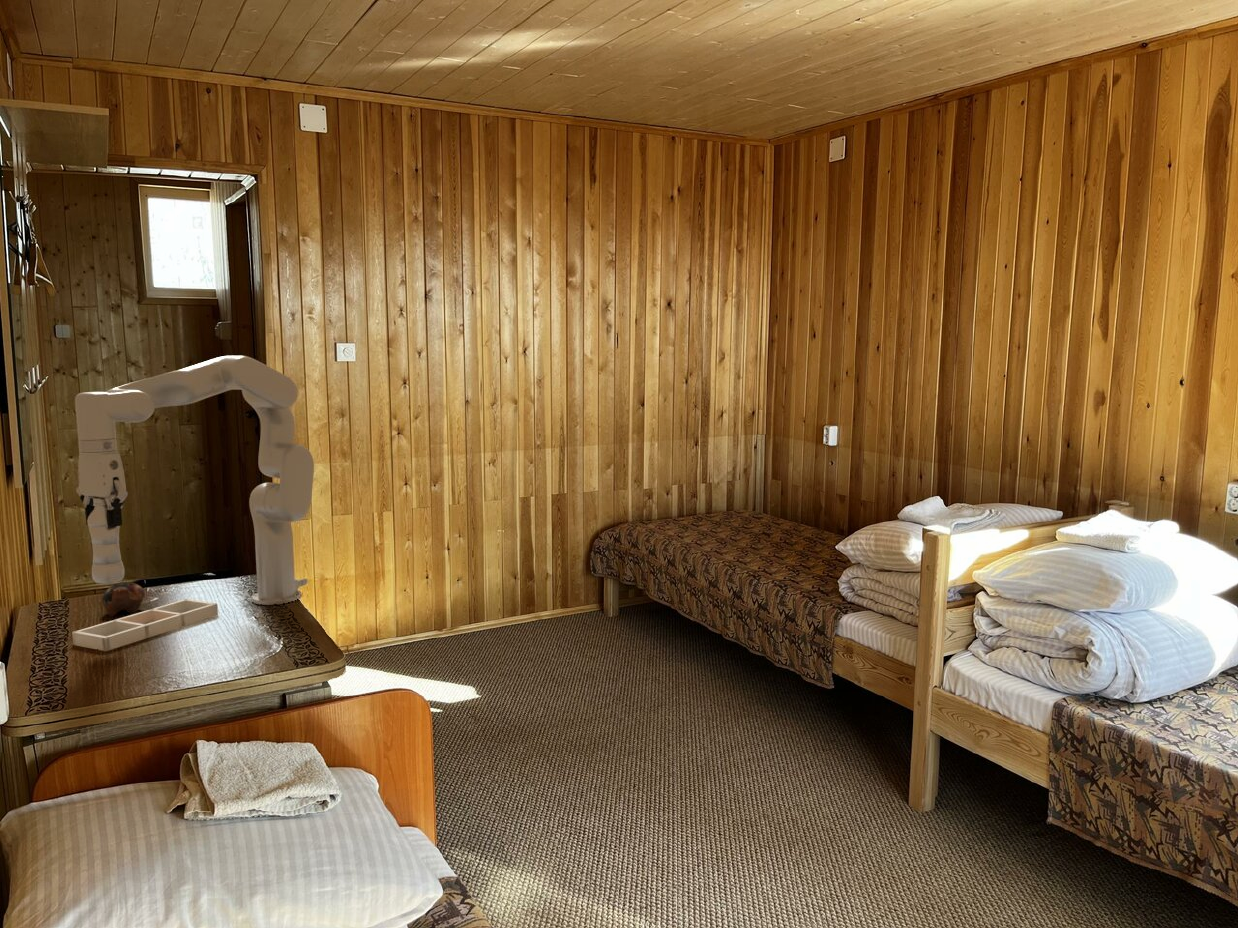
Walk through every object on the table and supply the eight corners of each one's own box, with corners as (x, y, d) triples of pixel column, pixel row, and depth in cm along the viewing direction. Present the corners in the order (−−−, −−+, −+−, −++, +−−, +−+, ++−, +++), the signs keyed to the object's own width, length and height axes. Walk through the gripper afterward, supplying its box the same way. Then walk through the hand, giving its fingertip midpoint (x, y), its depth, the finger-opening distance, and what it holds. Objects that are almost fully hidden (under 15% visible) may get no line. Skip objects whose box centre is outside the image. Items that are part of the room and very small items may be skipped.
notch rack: (186, 610, 239) (186, 598, 238) (217, 615, 234) (217, 603, 234) (73, 644, 211) (72, 632, 210) (106, 651, 206) (105, 638, 206)
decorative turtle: (102, 622, 229) (98, 590, 228) (105, 611, 242) (101, 581, 241) (146, 615, 233) (142, 583, 232) (147, 604, 246) (143, 575, 246)
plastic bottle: (116, 586, 209) (109, 499, 206) (86, 586, 209) (79, 499, 206) (130, 579, 215) (124, 494, 213) (101, 579, 215) (95, 494, 213)
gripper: (139, 446, 208) (145, 525, 210) (87, 443, 215) (93, 519, 217) (109, 450, 201) (115, 531, 204) (56, 447, 208) (63, 525, 211)
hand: (104, 524), depth 210 cm, fingers closed on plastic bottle, 6 cm apart
